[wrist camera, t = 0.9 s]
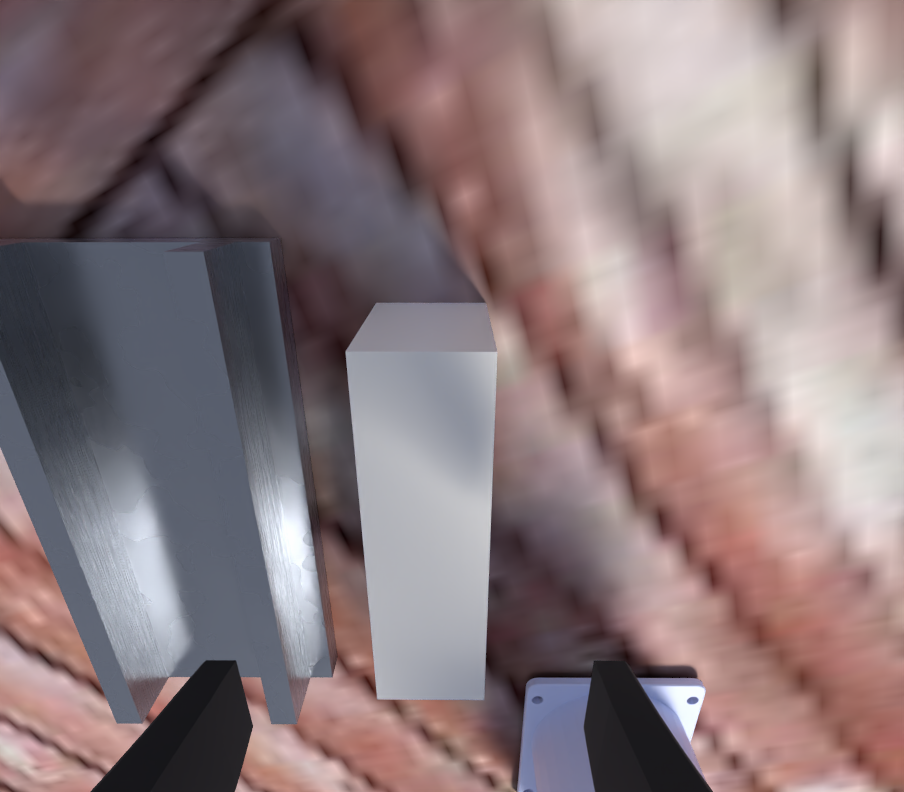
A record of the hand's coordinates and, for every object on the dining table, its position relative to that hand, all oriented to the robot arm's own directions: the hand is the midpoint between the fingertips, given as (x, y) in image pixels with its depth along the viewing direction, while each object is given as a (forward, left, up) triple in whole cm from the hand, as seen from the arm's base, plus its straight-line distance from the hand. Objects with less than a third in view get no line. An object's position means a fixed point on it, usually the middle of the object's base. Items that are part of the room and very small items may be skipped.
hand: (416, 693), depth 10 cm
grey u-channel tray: (-1, +9, -9) cm, 13 cm away
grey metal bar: (0, 0, -9) cm, 9 cm away
